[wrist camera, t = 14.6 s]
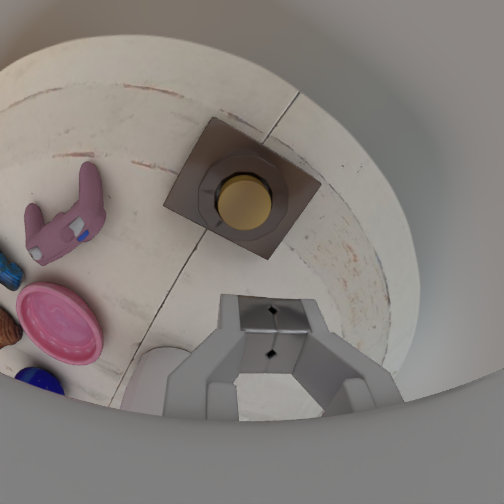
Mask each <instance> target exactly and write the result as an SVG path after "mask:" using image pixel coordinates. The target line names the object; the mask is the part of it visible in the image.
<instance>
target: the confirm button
mask: <svg viewBox="0 0 504 504" xmlns="http://www.w3.org/2000/svg"><path fill="white" fill-rule="evenodd" d="M218 211H219V214H220V216H221V218H222V220H223V221H224V222H225V223H226V224H227V225H228V226H230V227H232V228H234V229H237V230H251V229H254V228H256V227H258V226H260V225H261V224H263V223H264V222H265V220H266V219H267V218H268V216H269V214H270V211H271V199H270V196H269V193H268V191H267V189H266V187H265V186H264V184H263V183H262V182H261V181H260V180H258V179H257V178H255V177H253V176H249V175H238V176H235V177H233V178H231V179H229V180H228V181H227V182H225V184H224V185H223V186H222V188H221V190H220V192H219V198H218Z"/></svg>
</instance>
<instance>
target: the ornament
mask: <svg viewBox="0 0 504 504" xmlns="http://www.w3.org/2000/svg"><path fill="white" fill-rule="evenodd" d="M15 379H17V380H20V381H22V382H25V383H28V384H30V385H33V386H36V387H39V388H42V389H44V390H47V391H51V392H54V393H57V394H60V395H63V396H65V394H64V390H63V388H62V386H61V384H60V382H59V381H58V380H57V379H56V378H55V377H54V376H53V375H52V374H50V373H48V372H47V371H45V370H42V369H40V368H35V367H28V368H24V369H22V370H20V371H19V372H18V373H17V374H16V376H15Z"/></svg>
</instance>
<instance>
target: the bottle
mask: <svg viewBox="0 0 504 504" xmlns="http://www.w3.org/2000/svg"><path fill="white" fill-rule="evenodd" d="M190 354H191V353H189V352H187V351H185V350H182V349H178V348H174V347H161V348H156V349H153V350H151V351H149V352H147V353H145V354H144V355H143V356H142V357H141V359H140V360H139V362H138V364H137V366H136V368H135V370H134V373H133V375H132V377H131V379H130V381H129V383H128V386H127V388H126V390H125V394H124V397H123V400H122V403H121V407H120V409H121V410H126V411H132V412H138V413H144V414H150V415H158V416H162V413H163V406H164V398H165V391H166V384H167V378H168V375H169V374H170V373H171V372H172V371H173V370H174V369H175V368H176V367H177V366H179V365H180V364H181V363H182V362H183V361H184V360H185V359H186V358H187V357H188V356H189V355H190Z"/></svg>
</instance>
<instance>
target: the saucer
mask: <svg viewBox="0 0 504 504" xmlns="http://www.w3.org/2000/svg"><path fill="white" fill-rule="evenodd" d="M16 310H17V315H18V318H19V321H20V323H21V326H22V327H23V329H24V331H25V332H26V334H27V335H28V336H29V338H30V339H31V340H32V341H33V342H34V343H35V344H36V345H37V346H38V347H39V348H40V349H41V350H42V351H44V352H45V353H46V354H48V355H49V356H51V357H53V358H55V359H57V360H59V361H61V362H64V363H67V364H71V365H88V364H91V363H93V362H95V361H96V360H97V359H98V358H99V356H100V354H101V352H102V349H103V334H102V331H101V328H100V326H99V323H98V321H97V319H96V317H95V315H94V314H93V312H92V310H91V309H90V307H89V306H88V305H87V303H86V302H85V301H84V300H83V299H82V298H81V297H80V296H79V295H77V294H76V293H75V292H73V291H72V290H70V289H68V288H66V287H64V286H61V285H58V284H53V283H48V282H35V283H31V284H29V285H27V286H26V287H24V288H23V289H22V291H21V292H20V293H19V295H18V297H17V301H16Z"/></svg>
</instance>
